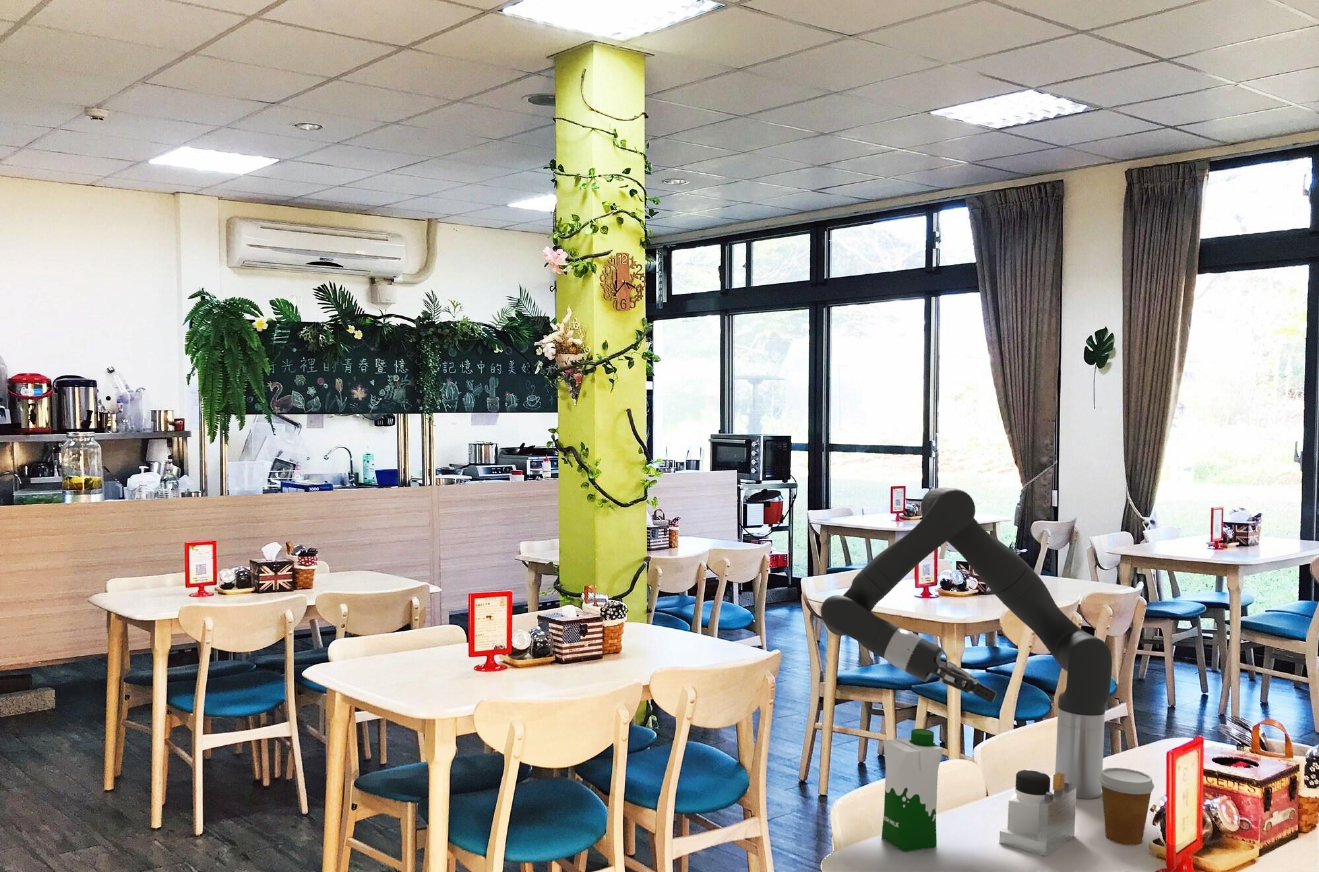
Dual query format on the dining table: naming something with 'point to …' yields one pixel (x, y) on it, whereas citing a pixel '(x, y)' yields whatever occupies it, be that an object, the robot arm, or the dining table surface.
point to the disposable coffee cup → (1125, 804)
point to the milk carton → (911, 791)
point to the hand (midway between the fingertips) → (994, 697)
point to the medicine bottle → (1027, 802)
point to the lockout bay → (1049, 821)
